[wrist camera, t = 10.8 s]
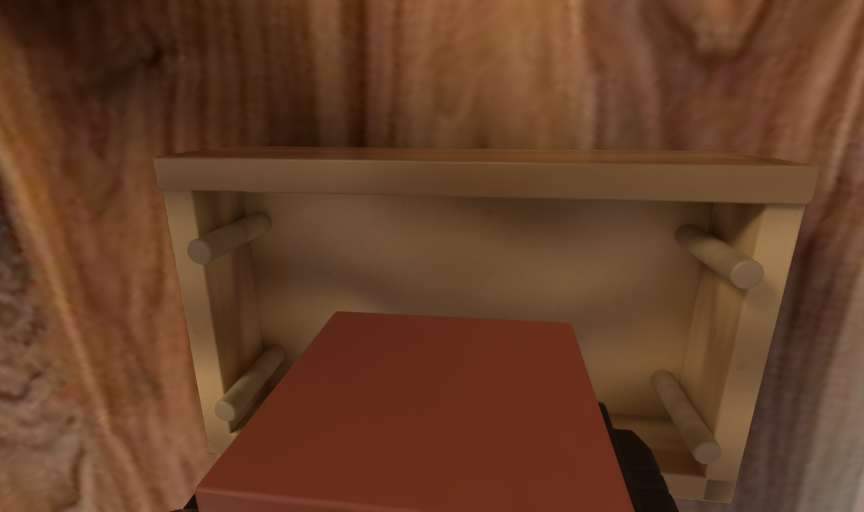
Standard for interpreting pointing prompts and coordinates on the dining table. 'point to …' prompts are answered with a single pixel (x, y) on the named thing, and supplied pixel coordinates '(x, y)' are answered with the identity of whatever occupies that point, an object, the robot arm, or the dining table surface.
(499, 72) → the dining table surface
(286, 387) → the block
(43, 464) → the dining table surface
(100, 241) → the dining table surface
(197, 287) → the open box
